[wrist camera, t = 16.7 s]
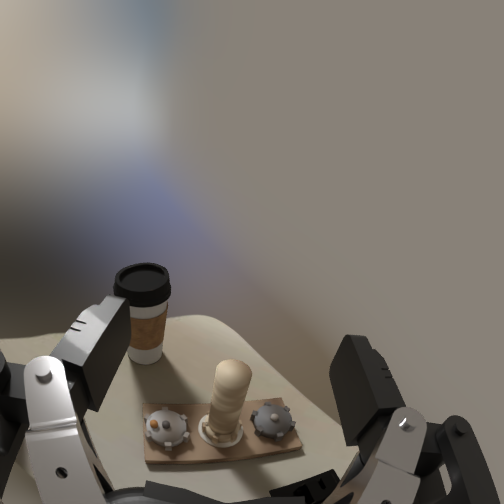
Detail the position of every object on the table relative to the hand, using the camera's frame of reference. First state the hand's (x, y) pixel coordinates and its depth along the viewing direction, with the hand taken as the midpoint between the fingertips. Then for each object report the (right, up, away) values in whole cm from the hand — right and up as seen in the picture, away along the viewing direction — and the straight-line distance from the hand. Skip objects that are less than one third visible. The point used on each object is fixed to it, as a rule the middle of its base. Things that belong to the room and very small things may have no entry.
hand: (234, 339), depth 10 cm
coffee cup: (-17, -14, +33) cm, 40 cm away
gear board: (-4, -21, +22) cm, 30 cm away
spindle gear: (-3, -20, +21) cm, 29 cm away
